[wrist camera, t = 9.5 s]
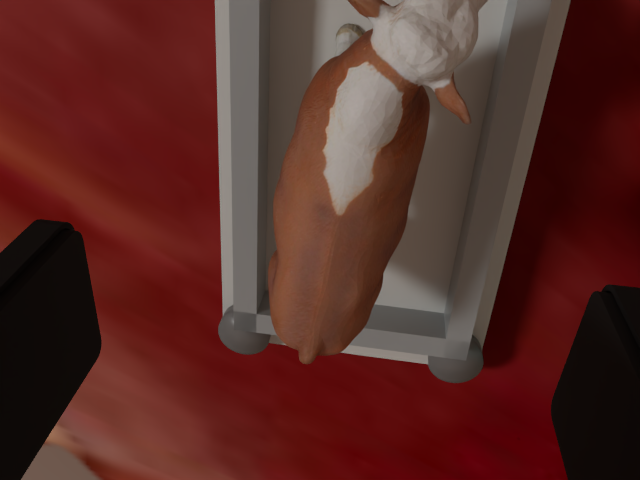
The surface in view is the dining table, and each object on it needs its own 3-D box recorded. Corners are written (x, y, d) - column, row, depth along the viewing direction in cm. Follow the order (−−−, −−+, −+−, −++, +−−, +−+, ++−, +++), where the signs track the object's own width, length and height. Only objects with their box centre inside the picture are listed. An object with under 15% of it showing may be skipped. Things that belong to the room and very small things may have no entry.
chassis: (217, -249, 18) (188, -272, 16) (619, -229, 17) (652, -250, 15) (229, 327, 30) (212, 364, 27) (474, 359, 29) (479, 402, 26)
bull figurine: (498, -46, 19) (548, -16, 12) (361, 279, 26) (343, 420, 19) (369, -92, 19) (345, -88, 12) (266, 248, 26) (212, 377, 19)
